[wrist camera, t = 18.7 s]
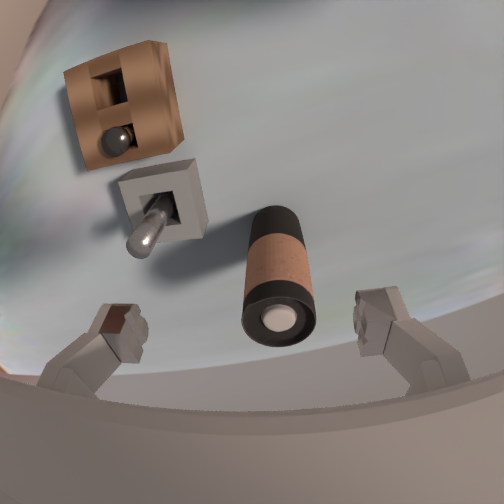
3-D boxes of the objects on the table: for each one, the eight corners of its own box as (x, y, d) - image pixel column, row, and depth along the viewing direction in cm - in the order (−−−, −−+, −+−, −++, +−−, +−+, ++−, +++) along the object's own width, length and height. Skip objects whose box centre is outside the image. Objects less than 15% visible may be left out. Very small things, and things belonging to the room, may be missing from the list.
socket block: (90, 68, 34) (63, 71, 28) (166, 43, 33) (148, 40, 27) (109, 155, 42) (87, 171, 36) (184, 139, 40) (170, 152, 35)
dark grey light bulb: (124, 119, 38) (97, 132, 32) (147, 113, 38) (123, 124, 31) (130, 142, 40) (105, 159, 33) (153, 137, 40) (130, 153, 33)
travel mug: (307, 239, 48) (325, 337, 32) (261, 254, 50) (258, 354, 34) (291, 196, 45) (304, 285, 28) (242, 213, 46) (227, 307, 30)
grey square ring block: (131, 169, 43) (118, 182, 39) (195, 158, 42) (186, 169, 38) (148, 228, 48) (138, 244, 44) (208, 221, 47) (202, 238, 43)
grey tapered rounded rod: (159, 189, 45) (122, 237, 33) (177, 186, 44) (146, 234, 33) (163, 207, 46) (130, 259, 35) (182, 205, 46) (153, 257, 34)
